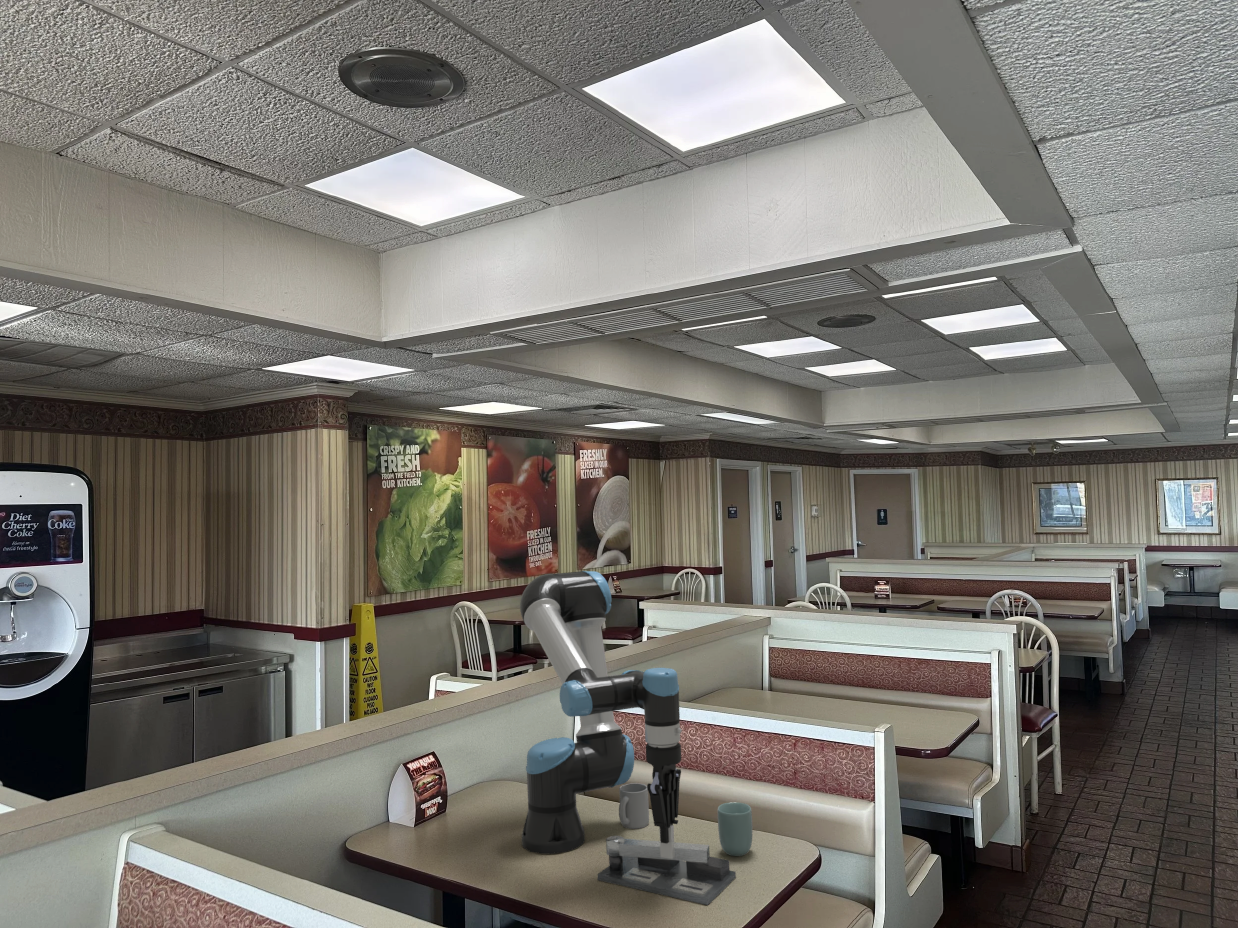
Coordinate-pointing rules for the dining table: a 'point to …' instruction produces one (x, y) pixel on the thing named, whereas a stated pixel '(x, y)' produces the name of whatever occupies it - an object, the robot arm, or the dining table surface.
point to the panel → (671, 876)
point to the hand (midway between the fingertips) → (667, 856)
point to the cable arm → (655, 849)
